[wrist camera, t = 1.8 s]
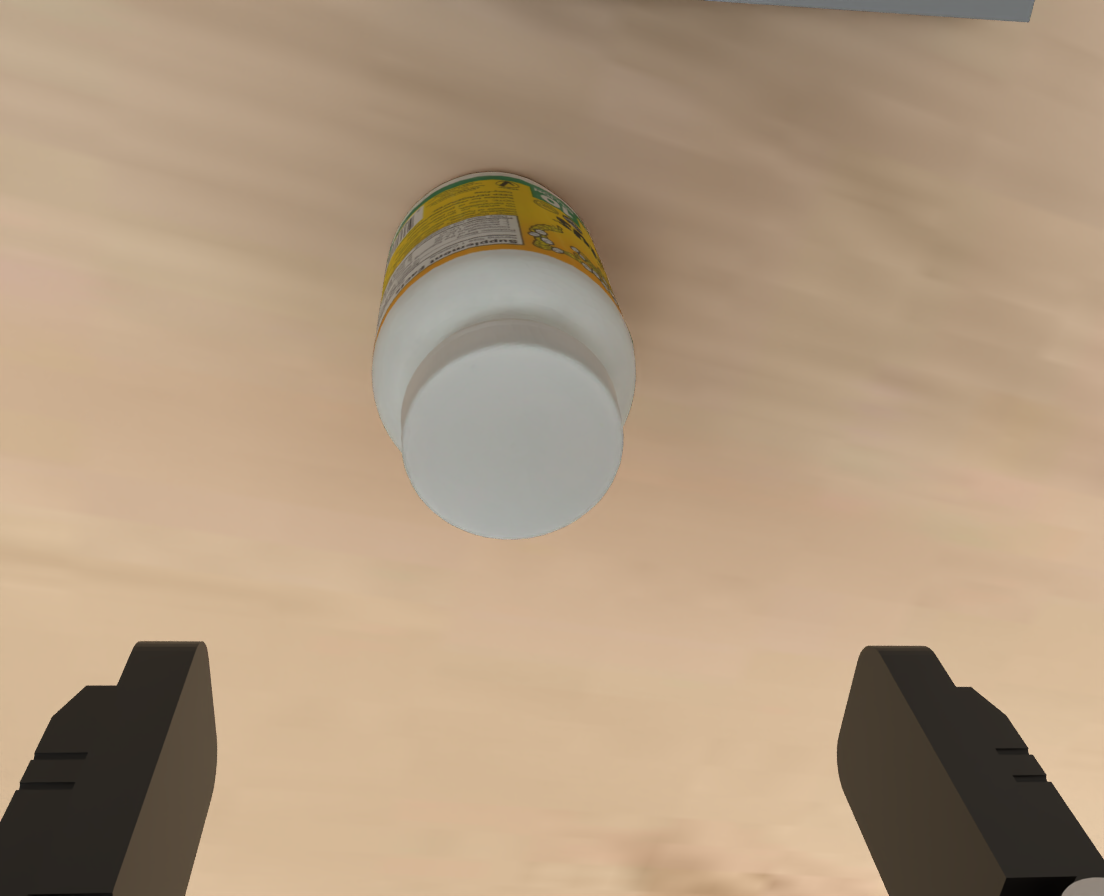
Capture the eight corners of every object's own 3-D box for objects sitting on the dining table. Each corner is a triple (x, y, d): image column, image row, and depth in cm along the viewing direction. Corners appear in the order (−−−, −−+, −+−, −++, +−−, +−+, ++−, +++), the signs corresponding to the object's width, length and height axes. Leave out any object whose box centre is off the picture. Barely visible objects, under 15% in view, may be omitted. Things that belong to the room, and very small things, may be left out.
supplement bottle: (357, 204, 26) (311, 356, 18) (564, 139, 26) (620, 261, 17) (429, 392, 29) (420, 604, 20) (619, 335, 28) (691, 525, 20)
